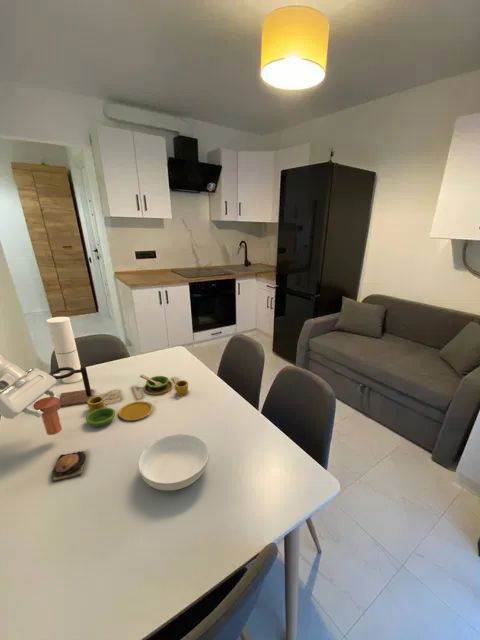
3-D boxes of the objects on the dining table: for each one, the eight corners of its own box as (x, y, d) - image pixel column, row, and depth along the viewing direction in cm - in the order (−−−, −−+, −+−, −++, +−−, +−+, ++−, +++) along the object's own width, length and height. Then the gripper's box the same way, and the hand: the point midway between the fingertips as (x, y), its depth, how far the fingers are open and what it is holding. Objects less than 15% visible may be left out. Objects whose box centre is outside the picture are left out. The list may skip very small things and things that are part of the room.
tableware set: (177, 377, 147) (177, 366, 144) (197, 405, 126) (196, 392, 123) (84, 398, 126) (81, 386, 124) (88, 436, 105) (85, 421, 102)
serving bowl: (209, 446, 102) (209, 430, 100) (209, 496, 83) (209, 479, 81) (147, 451, 99) (145, 435, 96) (133, 505, 80) (130, 487, 77)
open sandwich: (83, 475, 88) (80, 466, 87) (50, 482, 85) (47, 473, 84) (88, 451, 97) (86, 443, 96) (58, 457, 94) (55, 448, 93)
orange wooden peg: (39, 439, 95) (30, 410, 91) (45, 426, 101) (36, 398, 96) (63, 435, 98) (56, 406, 93) (68, 422, 103) (61, 395, 99)
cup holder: (54, 407, 119) (45, 376, 113) (59, 395, 127) (51, 365, 121) (90, 402, 123) (83, 372, 117) (93, 390, 132) (87, 362, 126)
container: (59, 379, 140) (43, 319, 128) (77, 372, 146) (64, 315, 134) (67, 384, 135) (51, 323, 123) (86, 377, 142) (73, 319, 130)
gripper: (28, 371, 101) (63, 396, 106) (-23, 404, 83) (22, 433, 87) (38, 360, 100) (73, 386, 104) (-12, 391, 81) (34, 421, 86)
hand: (49, 407), depth 96 cm, fingers closed on orange wooden peg, 7 cm apart
